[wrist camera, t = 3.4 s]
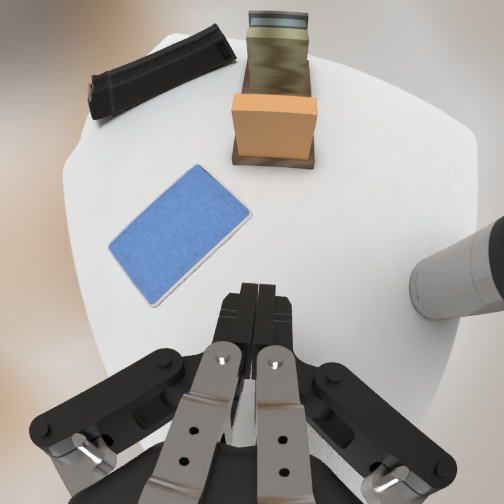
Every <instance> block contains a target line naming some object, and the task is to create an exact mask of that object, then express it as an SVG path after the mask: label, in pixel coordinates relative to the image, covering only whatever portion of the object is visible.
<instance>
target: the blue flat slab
mask: <svg viewBox="0 0 504 504" xmlns="http://www.w3.org/2000/svg"><path fill="white" fill-rule="evenodd" d="M252 216H253V212H252V210H251V209H250V208H249V207H248V206H247V205H246V204H245V203H244V202H243V201H242V200H240V199H239V198H238V197H237V196H236V195H235V194H234V193H233V192H232V191H231V190H230V189H229V188H227V187H226V186H225V185H224V184H223V183H222V182H221V181H220V180H219V179H218V178H216V177H215V176H214V175H213V174H212V173H211V172H210V171H209V170H208V169H207V168H205V167H204V166H203V165H202V164H200V163H198V164H195V165H193V166H192V167H191V168H190V169H188V170H187V171H186V172H185V173H184V174H183V175H181V176H180V177H179V178H178V179H177V180H176V181H174V182H173V183H172V184H171V185H170V186H169V187H168V188H166V189H165V190H164V191H163V192H162V193H161V194H160V195H159V196H158V197H156V198H155V199H154V200H153V201H152V202H151V203H150V204H149V205H148V206H147V207H145V208H144V209H143V210H142V211H141V212H140V213H139V214H138V215H137V216H136V217H135V218H134V219H133V220H132V221H131V222H130V223H129V224H128V225H127V226H125V227H124V228H123V229H122V230H121V231H120V232H119V233H118V234H117V235H116V236H115V237H114V238H113V239H112V240H111V241H110V242H109V244H108V247H107V248H108V251H109V253H110V254H111V255H112V257H113V258H114V260H115V261H116V263H117V264H118V265H119V267H120V268H121V270H122V271H123V272H124V274H125V275H126V276H127V278H128V279H129V280H130V282H131V283H132V284H133V286H134V287H135V288H136V290H137V291H138V292H139V294H140V295H141V296H142V298H143V299H144V300H145V301H146V303H147V304H148V305H149V306H150V307H153V308H154V307H157V306H158V305H159V304H160V303H161V302H162V301H163V300H164V299H165V298H166V297H167V296H168V295H169V294H170V293H171V292H172V291H173V290H175V289H176V288H177V287H178V286H179V285H180V284H181V283H182V282H183V281H184V280H185V279H186V278H187V277H188V276H189V275H190V274H191V273H192V272H194V271H195V270H196V269H197V268H198V267H199V266H200V265H201V264H202V263H203V262H204V261H205V260H206V259H207V258H208V257H209V256H211V255H212V254H213V253H214V252H215V251H216V250H217V249H218V248H219V247H220V246H221V245H223V244H224V243H225V242H226V241H227V240H228V239H229V238H230V237H232V236H233V235H234V233H235V232H237V231H238V230H239V229H240V228H241V227H242V226H243V225H244V224H245V223H247V222H248V221H249V220H250V219H251V218H252Z"/></svg>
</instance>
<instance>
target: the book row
mask: <svg viewBox="0 0 504 504" xmlns="http://www.w3.org/2000/svg"><path fill="white" fill-rule="evenodd" d="M307 27H308V13H299V12H285V11H249V28H248V31H247V36H246V41H247V53H248V59H247V65H246V70H245V76H244V82H243V88H242V94H267V95H286V96H300V97H311V86H310V73H309V62H308V60H307V53H308V44H309V37H308V30H307ZM232 163H233V165H259V166H278V167H293V168H305V169H313V168H314V135H313V138H312V143H311V148H310V152H309V157H308V160H301V159H287V158H271V157H249V156H239V154H238V148H237V142H236V136H235V140H234V147H233V154H232Z"/></svg>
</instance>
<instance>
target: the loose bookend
mask: <svg viewBox="0 0 504 504" xmlns="http://www.w3.org/2000/svg"><path fill="white" fill-rule="evenodd" d="M231 111H232V117H233V123H234V130H235V136H236V142H237V148H238V154H239V156H249V157H271V158H287V159H301V160H308V157H309V152H310V148H311V143H312V138H313V134H314V129H315V124H316V120H317V102H316V98H311V97H300V96H286V95H267V94H234V99H233V104H232V110H231Z"/></svg>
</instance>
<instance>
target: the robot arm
mask: <svg viewBox="0 0 504 504" xmlns="http://www.w3.org/2000/svg"><path fill="white" fill-rule="evenodd" d="M275 291H276V285H270V284H260V285H259V294H258V284H254V283H242V286H241V291H240V294H237V293H229V294H228V295H227V296H226V297H225V299H224V300H223V302H222V306H221V310H220V314H219V318H218V322H217V326H216V330H215V334H214V337H213V341H212V344H211V345H209V346H208V347H207V348H206V350H205V351H204V352H202V353H200V354H197V355H192V356H184V357H181V355H180V354H179V353H178V352H177V351H175V350H173V349H169V348H162V349H158V350H156V351H154V352H152V353H150V354H149V355H147V356H145V357H144V358H142V359H140V360H139V361H137V362H135V363H133V364H132V365H130V366H128V367H126V368H125V369H123V370H121V371H120V372H118V373H116V374H114V375H112V376H111V377H109V378H107V379H105V380H104V381H102V382H100V383H98V384H97V385H95V386H93V387H91V388H89V389H88V390H86V391H84V392H82V393H80V394H78V395H77V396H75V397H73V398H71V399H69V400H67V401H66V402H64V403H62V404H60V405H58V406H57V407H54V408H52V409H51V410H49V411H47V412H45V413H43V414H41V415H39V416H37V417H36V418H35V419H34V420H33V421H32V422H31V425H30V428H29V434H30V438H31V440H32V441H33V443H34V444H35V445H37V446H38V447H39V448H41V449H42V450H43V451H44V452H45V453H46V454H48V455H49V456H50V458H51V459H52V461H53V463H54V465H55V467H56V469H57V471H58V473H59V475H60V477H61V479H62V480H63V482H64V484H65V486H66V488H67V489H68V491H69V492H70V494H71V496H72V498H71V499H70V501H69V503H68V504H364V503H363V502H362V501H361V500H360V499H359V498H358V497H357V496H356V495H355V494H354V493H353V492H352V491H351V490H350V489H349V488H348V487H347V486H346V485H345V484H344V483H343V482H342V481H341V480H340V479H339V478H338V477H337V476H336V475H335V474H334V473H333V472H332V471H331V469H330V468H329V467H328V466H327V465H326V464H325V463H323V462H322V461H321V460H319V459H318V458H316V457H314V456H312V455H310V454H309V447H308V437H307V427H306V421H307V423H308V424H309V425H310V426H311V427H312V428H313V429H314V430H315V431H316V432H317V433H318V434H319V435H320V436H321V437H322V438H323V439H324V440H325V441H326V442H327V443H328V444H329V445H330V446H331V447H332V448H333V449H334V450H335V451H336V452H337V453H338V454H339V455H340V456H341V457H342V458H343V459H344V460H345V461H346V462H347V463H348V464H349V465H350V466H351V467H352V468H353V469H355V470H356V471H357V472H358V473H359V474H360V475H361V476H362V477H363V478H364V480H363V481H362V484H361V493H362V495H363V497H364V498H365V499H366V501H367V503H368V504H422V503H423V502H424V500H426V498H427V497H428V496H429V495H431V494H433V493H435V492H437V491H439V490H441V489H443V488H445V487H447V486H449V485H450V484H451V483H452V482H453V480H454V479H455V477H456V474H457V465H456V462H455V460H454V458H453V457H452V456H451V455H449V454H448V453H447V452H445V451H444V450H443V449H442V448H441V447H439V446H438V445H437V444H436V443H435V442H433V441H432V440H431V439H430V438H428V437H427V436H426V435H425V434H424V433H422V432H421V431H420V430H419V429H418V428H416V427H415V426H414V425H413V424H412V423H410V422H409V421H408V420H407V419H406V418H405V417H403V416H402V415H401V414H400V413H399V412H397V411H396V410H395V409H394V408H393V407H392V406H390V405H389V404H388V403H387V402H386V401H385V400H383V399H382V398H381V397H380V396H379V395H378V394H376V393H375V392H374V391H373V390H372V389H371V388H369V387H368V386H367V385H366V384H365V383H364V382H363V381H361V380H360V379H359V378H358V377H357V376H356V375H354V374H353V373H352V372H351V371H350V370H349V369H348V368H346V367H345V366H344V365H342V364H339V363H334V362H329V363H325V364H323V365H321V366H320V367H315V366H312V365H308V364H306V363H304V362H302V361H301V360H299V359H298V358H297V357H296V355H295V354H294V351H293V336H292V305H291V303H290V301H289V300H288V298H287V297H281V296H275ZM410 295H411V299H412V302H413V304H414V306H415V308H416V309H417V311H418V312H419V313H420V314H421V315H422V316H424V317H426V318H428V319H432V320H435V319H446V318H456V317H465V316H471V315H480V314H486V313H493V312H499V311H504V216H503V217H501V218H500V219H498V220H496V221H495V222H493V223H491V224H490V225H488V226H486V227H484V228H483V229H481V230H480V231H477V232H476V233H474V234H472V235H470V236H468V237H467V238H465V239H463V240H461V241H459V242H457V243H455V244H454V245H452V246H450V247H448V248H446V249H444V250H442V251H440V252H438V253H436V254H434V255H432V256H430V257H428V258H426V259H424V260H422V261H421V262H420V263H419V264H418V265H417V266H416V267H415V269H414V271H413V273H412V276H411V280H410ZM251 365H252V378H251V379H253V380H256V381H255V397H254V446H249V447H242V448H238V447H234V446H231V444H232V436H233V430H234V426H235V421H236V417H237V413H238V409H239V404H240V400H241V396H242V391H243V387H244V379H250V373H251ZM171 420H173V421H172V424H171V426H170V429H169V432H168V434H167V437H166V440H165V441H163V442H161V443H158V444H156V445H154V446H152V447H150V448H149V449H147V450H146V451H144V452H143V453H141V454H140V455H138V456H137V457H135V458H134V459H132V460H131V461H129V462H128V463H126V464H125V465H123V466H122V467H120V468H118V469H117V470H115V471H114V472H112V473H110V472H111V471H112V470H113V469H114V468H115V466H116V464H117V456H116V455H117V454H118V453H121V452H122V451H124V450H125V449H127V448H129V447H130V446H132V445H134V444H135V443H137V442H139V441H140V440H142V439H143V438H145V437H147V436H148V435H150V434H151V433H153V432H154V431H156V430H158V429H159V428H161V427H162V426H164V425H165V424H167V423H168V422H170V421H171ZM108 473H110V474H109V475H108Z"/></svg>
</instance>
